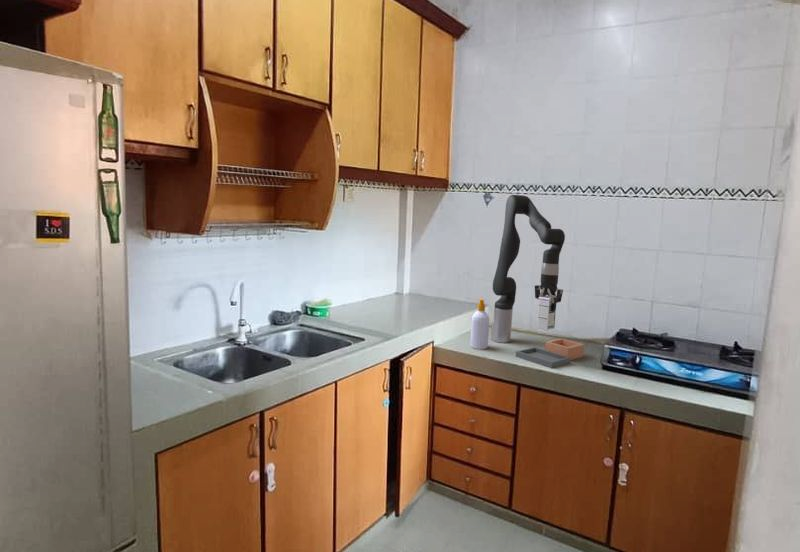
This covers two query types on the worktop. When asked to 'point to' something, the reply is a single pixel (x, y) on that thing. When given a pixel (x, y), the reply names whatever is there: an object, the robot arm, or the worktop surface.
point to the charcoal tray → (543, 357)
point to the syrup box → (545, 314)
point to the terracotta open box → (565, 348)
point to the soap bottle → (480, 327)
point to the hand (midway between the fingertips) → (546, 309)
